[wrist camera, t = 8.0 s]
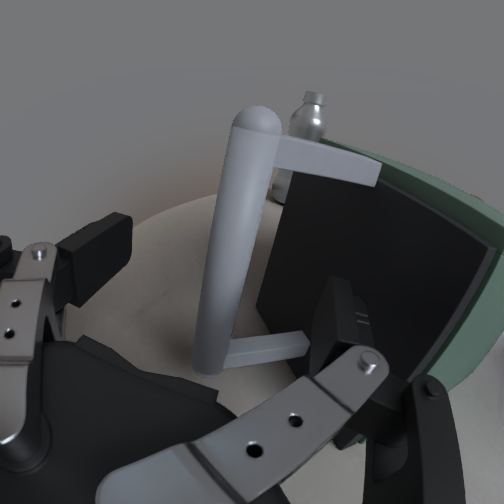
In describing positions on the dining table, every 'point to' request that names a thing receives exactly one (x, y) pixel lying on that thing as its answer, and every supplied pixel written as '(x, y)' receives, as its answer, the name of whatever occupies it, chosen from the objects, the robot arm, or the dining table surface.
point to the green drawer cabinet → (491, 287)
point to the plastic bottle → (302, 135)
